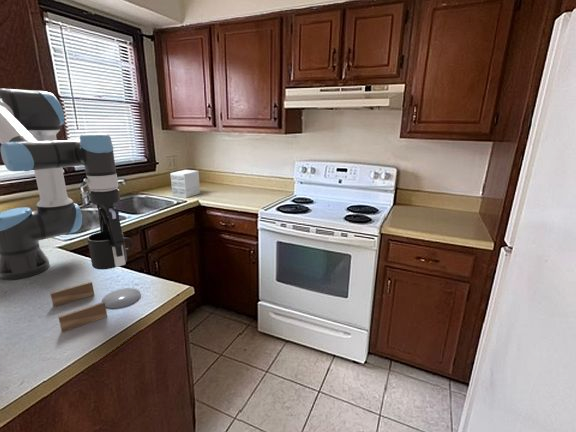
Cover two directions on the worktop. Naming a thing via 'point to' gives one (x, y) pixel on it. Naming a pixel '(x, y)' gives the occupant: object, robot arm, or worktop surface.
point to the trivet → (121, 298)
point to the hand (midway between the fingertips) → (115, 259)
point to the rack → (80, 315)
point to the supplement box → (185, 183)
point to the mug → (104, 250)
